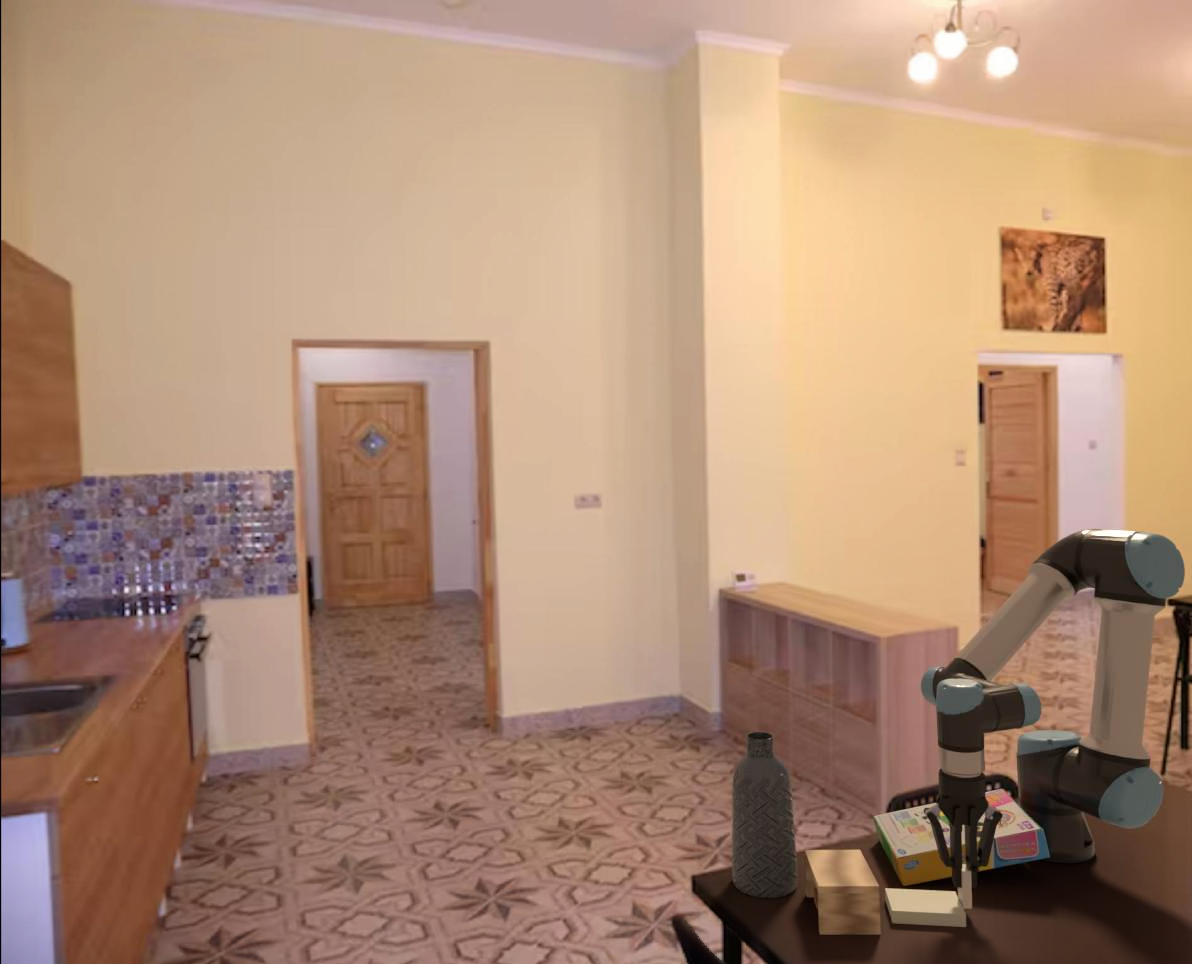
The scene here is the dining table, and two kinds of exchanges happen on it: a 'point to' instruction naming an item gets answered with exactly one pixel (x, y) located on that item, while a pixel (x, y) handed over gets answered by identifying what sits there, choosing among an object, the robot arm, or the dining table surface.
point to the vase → (763, 822)
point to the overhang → (843, 892)
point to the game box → (918, 853)
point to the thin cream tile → (925, 907)
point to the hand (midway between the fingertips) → (965, 904)
